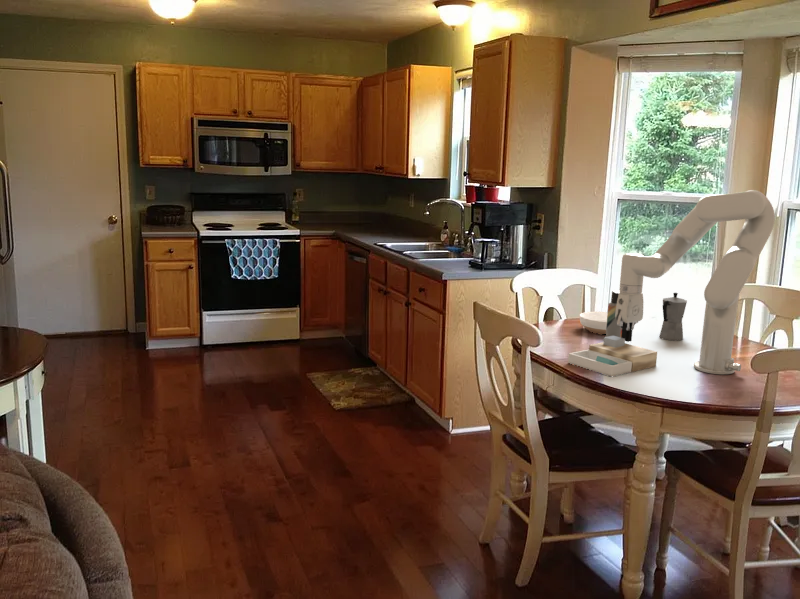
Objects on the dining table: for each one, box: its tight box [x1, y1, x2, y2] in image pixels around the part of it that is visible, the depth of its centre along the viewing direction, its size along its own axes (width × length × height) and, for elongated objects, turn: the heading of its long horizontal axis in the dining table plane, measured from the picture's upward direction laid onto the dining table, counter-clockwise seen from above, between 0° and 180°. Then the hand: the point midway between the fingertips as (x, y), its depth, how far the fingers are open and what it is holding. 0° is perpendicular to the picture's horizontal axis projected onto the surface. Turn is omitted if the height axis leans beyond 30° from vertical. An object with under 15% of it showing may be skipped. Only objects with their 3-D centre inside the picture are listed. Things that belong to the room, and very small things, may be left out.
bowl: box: [579, 311, 608, 335], centre depth 295 cm, size 20×20×6 cm
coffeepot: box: [659, 292, 688, 341], centre depth 285 cm, size 15×9×18 cm, turn 134°
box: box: [567, 349, 632, 378], centre depth 243 cm, size 18×10×4 cm, turn 36°
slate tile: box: [603, 336, 626, 348], centre depth 253 cm, size 5×5×2 cm
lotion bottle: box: [605, 289, 622, 338], centre depth 275 cm, size 6×6×20 cm
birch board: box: [588, 341, 658, 373], centre depth 250 cm, size 18×13×5 cm
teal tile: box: [596, 356, 618, 365], centre depth 239 cm, size 5×5×2 cm
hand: (626, 340), depth 258 cm, fingers closed
